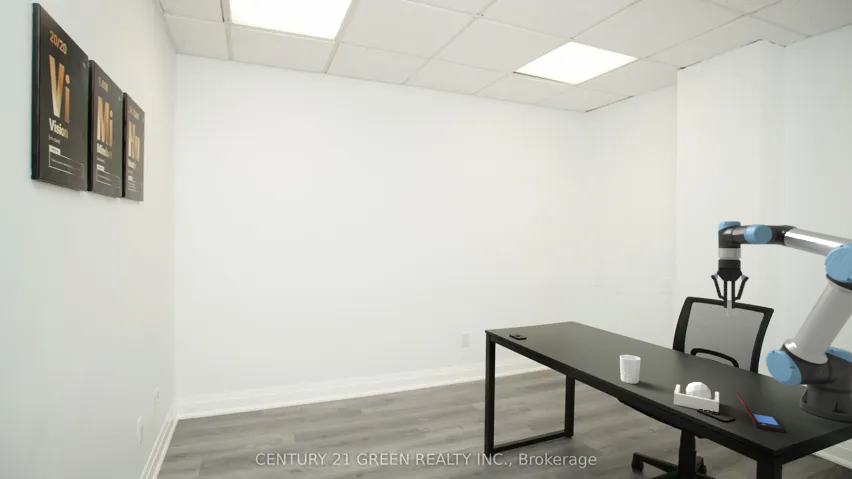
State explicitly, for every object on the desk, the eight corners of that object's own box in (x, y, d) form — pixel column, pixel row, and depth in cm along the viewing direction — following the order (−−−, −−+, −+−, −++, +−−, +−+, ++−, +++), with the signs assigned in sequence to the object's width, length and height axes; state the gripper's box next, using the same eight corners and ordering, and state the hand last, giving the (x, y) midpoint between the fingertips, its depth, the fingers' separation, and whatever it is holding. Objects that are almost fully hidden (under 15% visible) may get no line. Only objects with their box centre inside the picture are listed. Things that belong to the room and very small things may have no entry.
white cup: (642, 385, 171) (643, 360, 171) (622, 383, 173) (622, 359, 173) (636, 378, 179) (637, 355, 179) (617, 377, 181) (617, 354, 180)
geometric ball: (703, 410, 154) (720, 396, 151) (692, 406, 150) (709, 392, 147) (688, 393, 160) (703, 379, 157) (677, 389, 156) (692, 375, 154)
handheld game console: (785, 433, 131) (786, 410, 131) (743, 426, 136) (743, 403, 136) (773, 418, 142) (774, 396, 142) (735, 411, 147) (735, 390, 147)
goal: (676, 394, 162) (676, 384, 162) (718, 402, 154) (718, 392, 154) (673, 404, 152) (674, 393, 152) (718, 413, 145) (718, 402, 145)
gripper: (748, 259, 172) (748, 317, 171) (710, 258, 179) (710, 313, 179) (750, 259, 166) (749, 319, 165) (710, 258, 173) (710, 315, 172)
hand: (729, 316), depth 172 cm, fingers closed
